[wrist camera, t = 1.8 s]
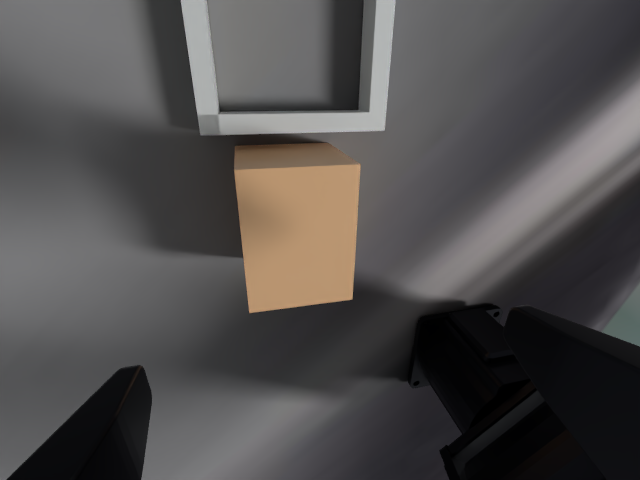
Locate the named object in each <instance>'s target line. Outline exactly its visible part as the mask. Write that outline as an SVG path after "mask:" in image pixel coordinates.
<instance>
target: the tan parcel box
mask: <svg viewBox="0 0 640 480" xmlns="http://www.w3.org/2000/svg"><path fill="white" fill-rule="evenodd" d="M234 173H235V182H236V192H237V201H238V211H239V220H240V230H241V239H242V248H243V258H244V267H245V277H246V286H247V296H248V305H249V313H254V312H262V311H270V310H277V309H285V308H292V307H300V306H307V305H315V304H322V303H330V302H338V301H345V300H353V283H354V266H355V249H356V232H357V215H358V198H359V181H360V164H359V163H358V162H356V161H355V160H353V159H352V158H350V157H349V156H347V155H346V154H344V153H343V152H341V151H340V150H338V149H337V148H335V147H334V146H332V145H331V144H329V143H304V144H272V145H239V146H235V160H234Z"/></svg>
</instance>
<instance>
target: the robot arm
mask: <svg viewBox="0 0 640 480" xmlns="http://www.w3.org/2000/svg"><path fill="white" fill-rule="evenodd" d="M502 313H503V311H502V309H500V308H499V307H498V306H496V305H494V306H487V307H481V308H474V309H468V310H461V311H455V312H448V313H442V314H435V315H429V316H424V317H421V318H420V319H419V320H418V323H417V328H416V334H415V340H414V346H413V352H412V358H411V365H410V371H409V377H408V383H409V385H410V386H411V387H412V388H418V387H423V386H428V385H431V387H432V388H433V390H434V391H435V393H436V394H437V396H438V397H439V399H440V400H441V402H442V404H443V405H444V407H445V408H446V410H447V411H448V413H449V414H450V416H451V418H452V419H453V421H454V422H455V424H456V425H457V427H458V428H459V430H460V431H461V433H462V435H461V436H460V437H458V438H457V439H456V440H455V441H454V442H452V443H451V444H450V445H449V446H447V445H446V446H444V447H443V448H442V449H441V450H440V454H441V457H442V459H443V462H444V464H445V465H444V467H445V470H446V472H447V475H448V477H449V480H640V347H639V346H637V345H634V344H631V343H629V342H626V341H623V340H620V339H618V338H615V337H612V336H610V335H607V334H604V333H602V332H599V331H596V330H594V329H591V328H588V327H585V326H583V325H580V324H577V323H575V322H572V321H569V320H567V319H564V318H561V317H558V316H556V315H553V314H550V313H548V312H545V311H542V310H540V309H537V308H534V307H531V306H528V305H522V306H516V307H512V308H511V309H510V310H509V313H508V316H507V319H506V323H505V326H504V327H503V326H502V325H501V324H499V323H500V320H501V317H502ZM425 323H426V324H425ZM151 406H152V393H151V389H150V386H149V383H148V380H147V376H146V373H145V370H144V368H143V367H142V366H140V365H136V366H130V367H124V368H121V369H119V370H118V371H116V372H115V373H114V374H113V375H112V376H111V377H110V378H109V379H108V380H107V381H106V382H105V383H104V384H103V385H102V386H101V387H100V388H99V389H98V390H97V391H96V392H95V393H94V394H93V395H92V396H91V397H90V398H89V399H88V400H87V401H86V402H85V403H84V404H83V405H82V406H81V407H80V408H79V409H78V410H77V411H76V412H75V413H74V414H73V415H72V416H71V417H70V418H69V419H68V420H67V421H66V422H65V423H64V424H63V425H62V426H60V427H59V428H58V429H57V430H56V431H55V432H54V433H53V434H52V435H51V436H50V437H49V438H48V439H47V440H46V441H45V442H44V443H43V444H42V445H41V446H40V447H39V448H38V449H37V450H36V451H35V452H34V453H33V454H32V455H31V456H30V457H29V458H28V459H27V460H26V461H25V462H24V463H23V464H22V465H21V466H20V467H19V468H18V469H17V470H16V471H15V472H14V473H13V474H12V475H11V476H10V477H9V478H8V479H7V480H141V477H142V471H143V464H144V457H145V449H146V442H147V435H148V427H149V420H150V413H151Z"/></svg>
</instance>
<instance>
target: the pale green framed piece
mask: <svg viewBox="0 0 640 480" xmlns="http://www.w3.org/2000/svg"><path fill="white" fill-rule="evenodd" d="M181 6H182V12H183V19H184V26H185V33H186V40H187V47H188V54H189V60H190V67H191V74H192V81H193V88H194V95H195V102H196V109H197V115H198V122H199V129H200V136H204V135H242V134H280V133H318V132H356V131H385V119H386V107H387V95H388V84H389V72H390V60H391V48H392V36H393V24H394V12H395V0H364V8H363V28H362V47H361V67H360V87H359V107H358V110H322V111H241V112H220V110H219V101H218V93H217V84H216V76H215V67H214V59H213V50H212V42H211V33H210V25H209V17H208V8H207V0H181Z"/></svg>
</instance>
